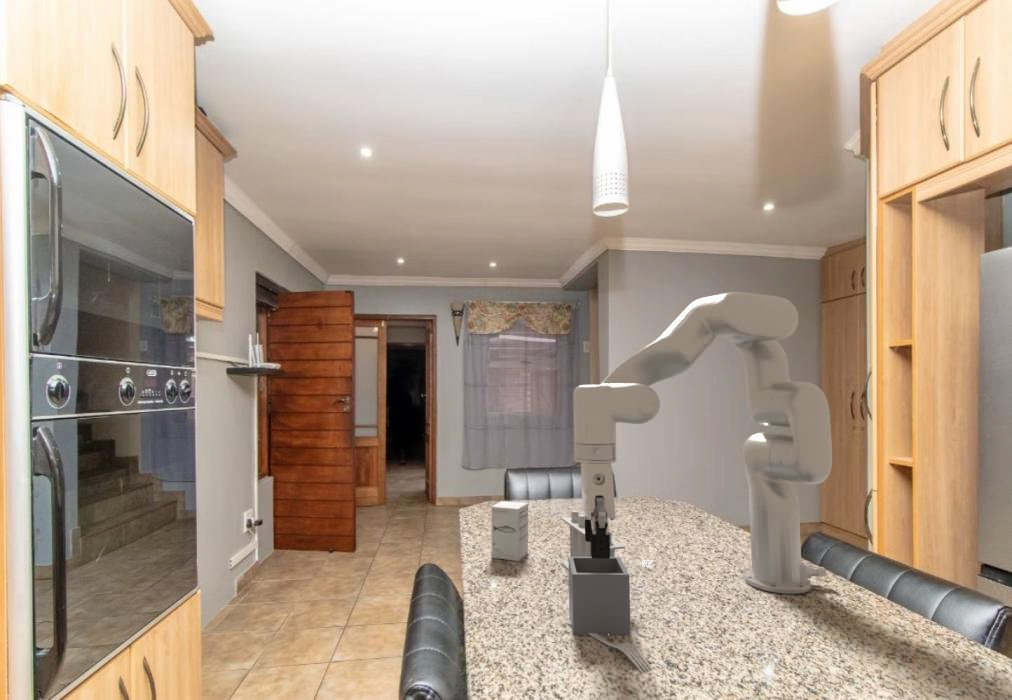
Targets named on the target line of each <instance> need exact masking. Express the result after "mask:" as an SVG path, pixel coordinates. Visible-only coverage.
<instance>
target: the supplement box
mask: <svg viewBox="0 0 1012 700" xmlns="http://www.w3.org/2000/svg"><path fill="white" fill-rule="evenodd" d="M490 550H491V559H498V560H500V559H501V560H506V561H514V562H520V561H521V560H522V559H523V558H524V557H526V556H527V555H528V551H529V503H528V502H518V501H517V502H515V501H505V500H504V501H503V500H501V501H499V502H498V503H496V504H494V505H492V506H491V549H490Z"/></svg>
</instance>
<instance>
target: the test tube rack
mask: <svg viewBox="0 0 1012 700" xmlns="http://www.w3.org/2000/svg"><path fill="white" fill-rule="evenodd" d="M585 519H586V516H585V514H580V513H579V511H578V510H576V509H574V510H571V512H570V517H569V516H568V517H567V516H566V517H565V516H564V517H561V518H560V520H562V521H563V522H564V523H566V524H567V525H568V526H569V540H570V541H569V549H570V551H569V553H570V556H569V557H591V542H587V541H586V540H585ZM609 534H610V557H616V556H615V554H616V550H622V549H623V550H625V549H626V546H625V545H624V544H622V543H621V542H619V541H617V540H615V539H614V538H613V537H612V536H613V534H612V531H611V529H609ZM560 562H561V563H560V565H561V566H562V565H563V566H564V567H565V568H566V569H567V570H568V571H569V560H566V561H560ZM563 566H562V567H563ZM564 567H563V568H564ZM565 568H564V569H565ZM566 569H565V570H566ZM567 570H566V571H567ZM568 571H567V572H568Z"/></svg>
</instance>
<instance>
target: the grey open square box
mask: <svg viewBox="0 0 1012 700" xmlns="http://www.w3.org/2000/svg"><path fill="white" fill-rule="evenodd" d="M567 561H569V572H568V611H569V612H570V613H569V612H568V613H569V618H570V620H571V623H572V626H571V629H572V634H573V636H577V635H576V634H579V635H578V636H590V635H589V634H588V633H597V634H598V635H599V636H613V635H631V599H630V598H631V595H630V573H629V571H628V570H627V568H626V566H625V564H624V562H623V560H622V558H621V556H615V557H610V558H608V559H599V558H592V557H570V556H568V560H567ZM584 634H586V635H584ZM608 634H609V635H608Z"/></svg>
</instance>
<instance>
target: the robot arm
mask: <svg viewBox="0 0 1012 700" xmlns="http://www.w3.org/2000/svg"><path fill="white" fill-rule="evenodd" d="M797 310H798V309H797V308H796V306H795V305H794V304H793V303H792V302H791V301H790V300H788V299H787V298H784V297H781V296H776V295H769V294H759V293H750V292H742V291H741V292H740V291H731V292H725V293H724V292H723V293H719V294H715V295H710V296H705V297H700V298H698V299H696V300H694V301H692V302H691V303H689V305H688V306H687V307H686V308H685V309H684V310H682V312H681V313H680V314H679V315H678V316H677V317H676V318H675V320H673V321H672V322H671V324H670V325H669V326H668V327H667V328H666V329H665V330H664V331H663V332H662V333H661V334H660V336H658V338H656V339H655V340H654V341H653V342H652V343H649V344H647V345H646V346H645V347H643V348H642V349H640V350H638V352H636V353H634V354H632V355H631V356H630V357H628V358H627V359H625V360H624V361H622V362H621V363H620V364H619V365H617V366H616V367H615V368H614V369H613V370H612V371H611V372H610V373H609V374H608V375H607V376H606V377H605V378H604V379H603V381H601V382H600V383H599V384H581V385H577V386H576V387H575V389H574V390H573V442H574V443H573V447H574V449H573V451H574V453H573V454H574V462H577V463H580V475H581V476H580V478H581V479H580V481H581V482H580V484H581V485H580V486H581V499H582V500H581V501H582V510H583V512H584V515H585V516H586V519H585V540H586V541H587V542H591V557H592V558H599V559H608V558H610V534H609V530H610V528H609V520H610V521H614V520H615V519H616V510H615V509H616V507H615V506H616V505H615V486H614V474H613V464H612V463H616V462H617V424H618V423H624V424H631V425H642V424H643V425H644V424H646V423H649V422H651V421H652V420H654V418H656V416H657V415H658V413H659V411H660V408H661V401H660V398H659V395H658V393H657V392H656V391H655V390H654V389H653V388H652V387H651V386H652V385H654V384H656V383H658V382H662V381H664V380H668V379H671V378H673V377H676V376H679V375H681V374H682V373H684V372H685V373H686V372H687V371H688V370H690V369H691V368H692V367H693V366H694V365H695V363H696V362H697V361H698V360H699V359H700V357H701V356H702V355H704V353H705V352H706V350H707V349H709V347H710V346H712V344H713V343H714V342H715V341H716V340H717V339H720V338H724V340H725V339H726V340H727V341H728V342H729V343H730V344H732V346H733V347H734V348H735V349H736V350H737V352H738V353H739V354H740V356H741V358H742V361H743V364H744V372H745V385H746V386H745V387H746V402H747V403H746V405H747V411H748V412H747V413H748V416H749V418H750V420H751V421H752V422H754V423H756V424H758V425H761V426H766V427H772V428H773V427H776V428H789V429H791V434H789V433H781V432H772V431H771V432H770V431H769V432H768V431H767V432H766V431H765V432H763V431H762V432H757V433H754V434H751V435H750V436H749V437H747V439H746V440H745V441H744V443H743V445H742V453H741V455H742V456H741V457H742V462H743V466H744V470H745V474H746V479H747V486H748V503H749V531H750V532H749V534H750V557H751V558H750V560H751V568H750V569H748V570H746V571H745V572H744V573H743V579H744V581H745V582H746V583H747V584H748V585H750V586H751V587H753V588H757V589H759V590H763V591H766V592H771V593H776V594H784V595H786V594H787V595H795V594H796V595H797V594H803V593H807V592H809V591H810V590H811V588H812V584H811V581H810V580H809V579H811V578H812V577H816V578H817V577H818V578H819V577H820V578H825V577H827V570H826V568H825V566H814V565H813V564H812V563H811V564H809V563H808V564H806V563H803V562H802V550H801V549H802V547H801V527H800V526H801V525H800V522H801V521H800V502H799V496H798V494H797V491H796V489H795V488H794V485H793V484H792V482H795V483H798V484H799V483H800V484H804V485H805V484H806V485H818V484H821V483H823V482H825V481H826V480H827V479H828V477H829V476H830V474H831V471H832V467H833V446H832V443H833V442H832V430H831V429H832V428H831V414H830V407H829V406H830V405H829V402H828V399H827V396H826V395H825V393H824V391H823V390H822V389H821V388H820V387H819V386H818V385H816V384H814V383H812V382H807V381H791V378H790V377H791V376H790V372H789V371H790V369H789V361H788V357H787V353H786V352H785V350H784V348H783V347H782V346H781V344H780V343H779V341H780V340H784V339H787V338H788V337H790V336H791V335H793V334H794V332H795V331H796V330H797V328H798V325H799V313H798V311H797Z"/></svg>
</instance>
